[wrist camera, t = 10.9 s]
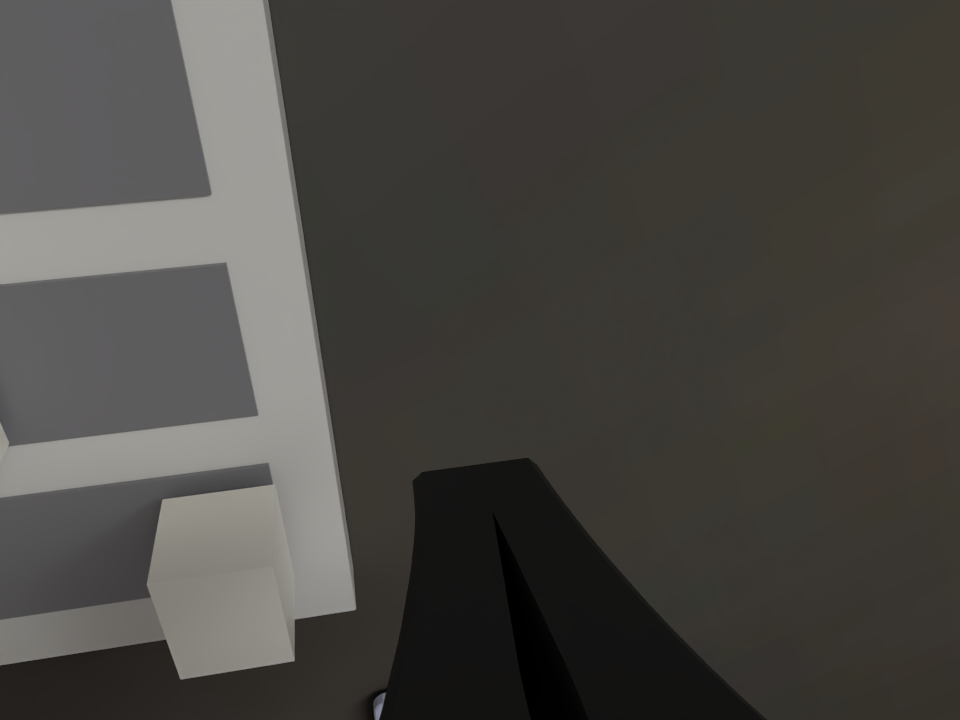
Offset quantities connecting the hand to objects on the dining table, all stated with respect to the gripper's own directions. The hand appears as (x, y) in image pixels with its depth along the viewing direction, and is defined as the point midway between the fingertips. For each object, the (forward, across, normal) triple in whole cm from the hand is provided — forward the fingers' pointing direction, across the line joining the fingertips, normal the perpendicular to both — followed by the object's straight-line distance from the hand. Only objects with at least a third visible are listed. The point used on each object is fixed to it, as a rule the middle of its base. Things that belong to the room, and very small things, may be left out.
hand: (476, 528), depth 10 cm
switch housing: (+9, +7, +2) cm, 12 cm away
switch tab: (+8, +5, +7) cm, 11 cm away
